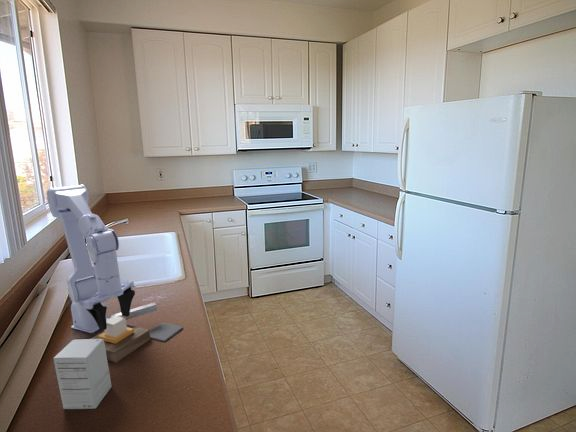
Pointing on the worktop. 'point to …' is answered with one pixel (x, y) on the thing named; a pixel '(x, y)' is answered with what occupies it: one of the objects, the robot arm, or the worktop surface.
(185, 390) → the worktop surface
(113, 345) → the socket block
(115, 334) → the plug
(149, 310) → the light grey long bar
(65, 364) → the supplement box
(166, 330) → the mat
